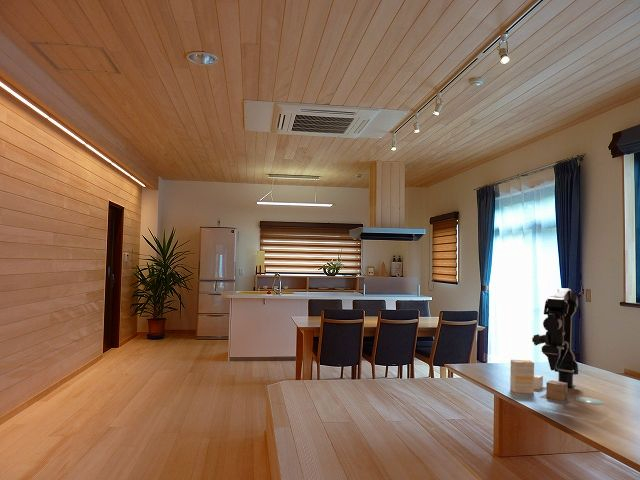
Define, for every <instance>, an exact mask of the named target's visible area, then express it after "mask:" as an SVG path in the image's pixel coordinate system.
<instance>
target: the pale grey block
mask: <svg viewBox="0 0 640 480" xmlns="http://www.w3.org/2000/svg"><path fill="white" fill-rule="evenodd" d="M543 384H544V376H543V375H538V374H535V373H534V389H537V390H539V389H541V388H543V387H544V385H543ZM537 390H536V391H537Z"/></svg>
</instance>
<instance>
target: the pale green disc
mask: <svg viewBox="0 0 640 480" xmlns="http://www.w3.org/2000/svg"><path fill="white" fill-rule="evenodd" d="M575 400H577V401H578V402H581V403H584V404H588V405H593V406H594V405H595V406H603V405H604V406H605V404H606V402H605V401H603V400H600V399H597V398H591V397H576V398H575Z"/></svg>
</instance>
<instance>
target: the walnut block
mask: <svg viewBox="0 0 640 480" xmlns="http://www.w3.org/2000/svg"><path fill="white" fill-rule="evenodd" d="M545 385H546V386H545V387H546V390H545V392H546V393H545V394H546V398H551V399H555V400H560V401H563V400H565V399H567V397H568V388H567V383H565V382H559V381H558V380H554V379H551V380H549V381H546V384H545Z"/></svg>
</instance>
